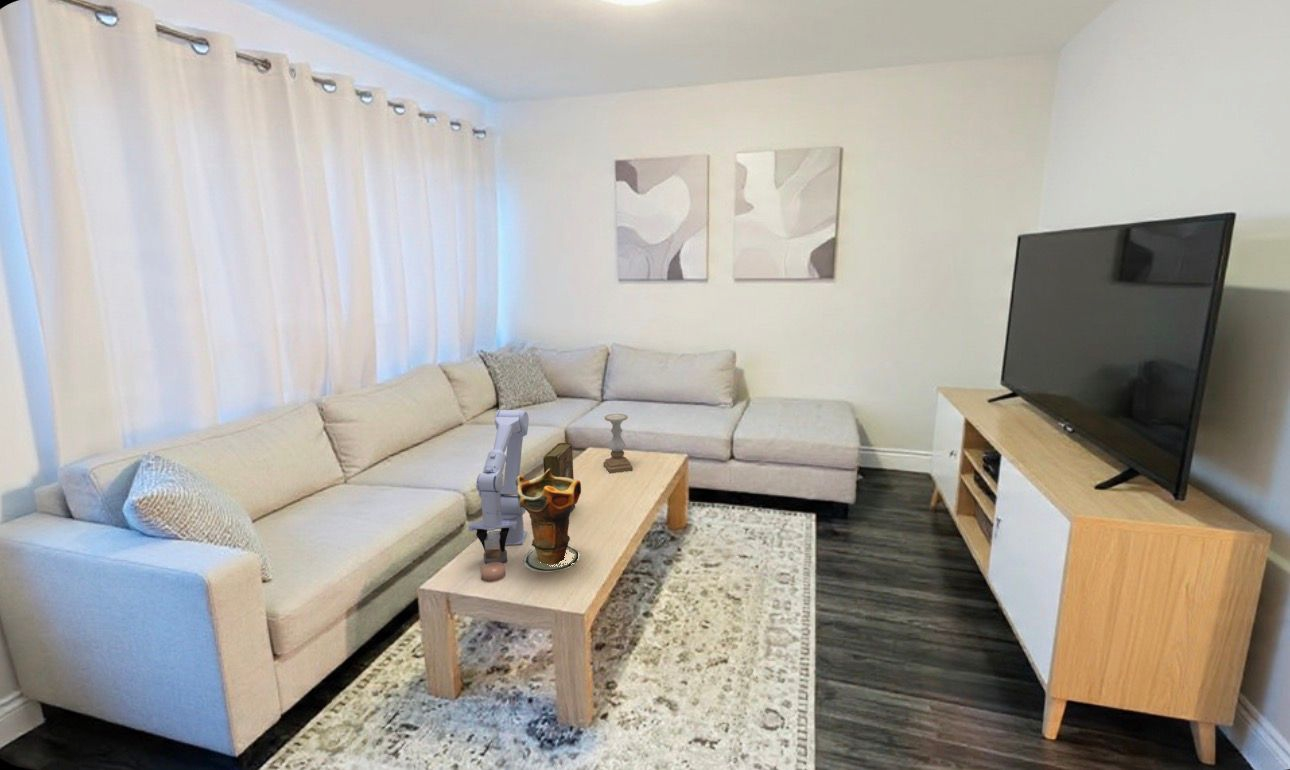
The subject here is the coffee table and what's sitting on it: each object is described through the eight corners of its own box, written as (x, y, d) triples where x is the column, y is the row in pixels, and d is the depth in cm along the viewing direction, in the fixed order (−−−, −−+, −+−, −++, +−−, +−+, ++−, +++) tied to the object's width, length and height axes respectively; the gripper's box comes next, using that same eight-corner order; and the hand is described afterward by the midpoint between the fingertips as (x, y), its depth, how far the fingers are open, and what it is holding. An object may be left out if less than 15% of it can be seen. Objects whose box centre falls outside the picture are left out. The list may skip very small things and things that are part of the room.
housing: (485, 558, 185) (484, 540, 183) (490, 548, 191) (488, 531, 190) (500, 558, 185) (499, 540, 184) (504, 548, 191) (503, 530, 190)
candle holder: (603, 465, 273) (601, 414, 268) (626, 462, 276) (624, 412, 271) (609, 473, 263) (607, 420, 258) (633, 470, 266) (631, 418, 261)
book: (562, 505, 230) (559, 442, 225) (576, 506, 229) (573, 443, 224) (547, 523, 214) (543, 456, 209) (561, 524, 213) (558, 457, 208)
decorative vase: (550, 534, 205) (548, 456, 198) (599, 557, 191) (599, 474, 184) (500, 558, 189) (496, 475, 182) (550, 585, 175) (547, 496, 168)
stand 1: (486, 555, 192) (486, 548, 191) (509, 554, 192) (508, 547, 192) (482, 566, 185) (481, 559, 184) (505, 565, 185) (504, 558, 185)
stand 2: (484, 570, 183) (483, 562, 182) (507, 568, 183) (506, 561, 183) (479, 582, 176) (478, 574, 176) (503, 580, 176) (502, 573, 176)
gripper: (464, 516, 181) (468, 558, 183) (513, 514, 181) (516, 555, 184) (470, 507, 188) (473, 547, 190) (517, 505, 188) (519, 545, 191)
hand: (495, 550), depth 188 cm, fingers closed on housing, 4 cm apart
